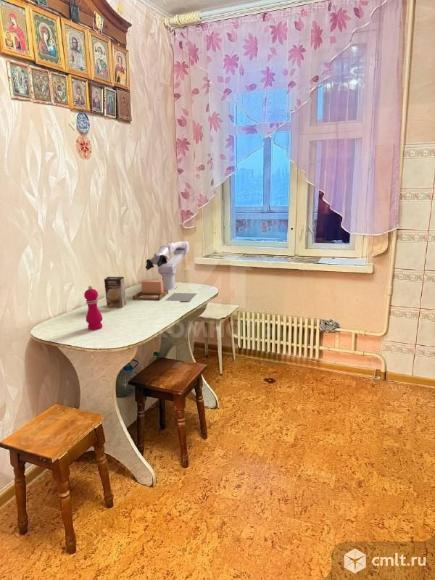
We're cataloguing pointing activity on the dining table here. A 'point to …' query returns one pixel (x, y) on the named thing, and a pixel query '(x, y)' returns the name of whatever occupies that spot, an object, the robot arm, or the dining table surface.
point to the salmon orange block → (152, 286)
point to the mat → (181, 297)
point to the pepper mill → (92, 309)
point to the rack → (160, 295)
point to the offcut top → (148, 296)
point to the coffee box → (115, 292)
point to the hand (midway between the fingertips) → (152, 267)
